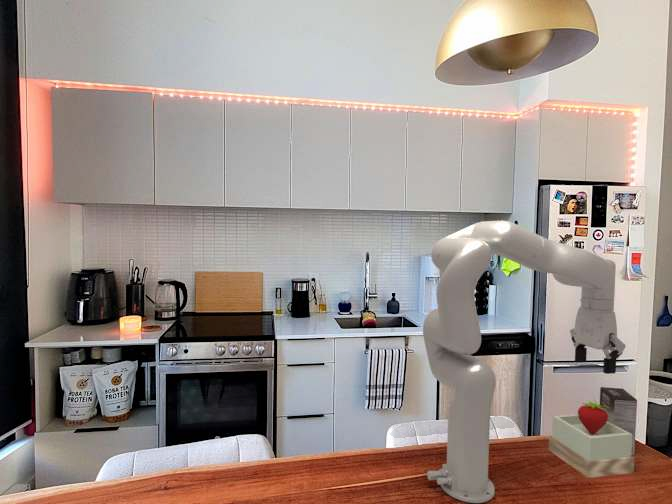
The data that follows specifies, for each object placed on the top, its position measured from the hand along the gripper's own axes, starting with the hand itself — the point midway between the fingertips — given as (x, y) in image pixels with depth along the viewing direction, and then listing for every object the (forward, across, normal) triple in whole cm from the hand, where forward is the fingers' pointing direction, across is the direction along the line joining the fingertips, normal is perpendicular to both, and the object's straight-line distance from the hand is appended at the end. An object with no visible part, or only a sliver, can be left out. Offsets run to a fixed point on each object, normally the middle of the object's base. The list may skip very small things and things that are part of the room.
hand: (594, 367), depth 110 cm
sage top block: (+22, 0, 0) cm, 22 cm away
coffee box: (+26, -6, +14) cm, 30 cm away
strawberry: (+19, 0, 0) cm, 19 cm away
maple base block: (+26, 0, 0) cm, 26 cm away
